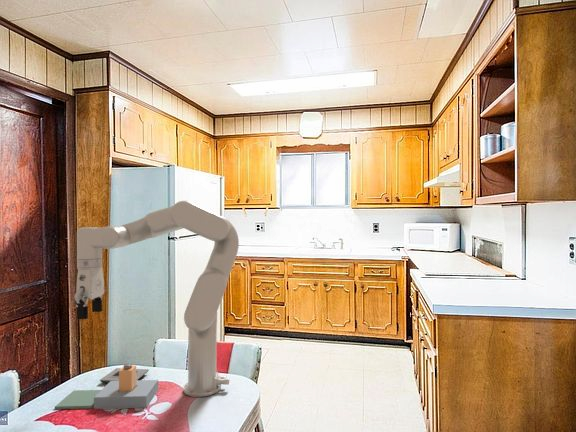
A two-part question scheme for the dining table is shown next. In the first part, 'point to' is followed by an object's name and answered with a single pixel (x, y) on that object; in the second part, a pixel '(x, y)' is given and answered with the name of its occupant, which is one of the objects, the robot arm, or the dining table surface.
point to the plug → (127, 378)
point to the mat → (78, 400)
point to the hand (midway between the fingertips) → (90, 315)
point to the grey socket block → (126, 395)
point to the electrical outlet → (115, 375)
